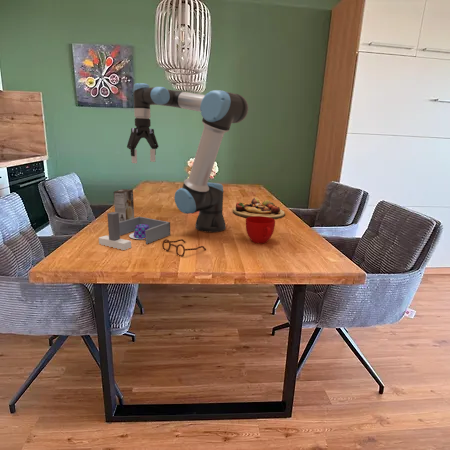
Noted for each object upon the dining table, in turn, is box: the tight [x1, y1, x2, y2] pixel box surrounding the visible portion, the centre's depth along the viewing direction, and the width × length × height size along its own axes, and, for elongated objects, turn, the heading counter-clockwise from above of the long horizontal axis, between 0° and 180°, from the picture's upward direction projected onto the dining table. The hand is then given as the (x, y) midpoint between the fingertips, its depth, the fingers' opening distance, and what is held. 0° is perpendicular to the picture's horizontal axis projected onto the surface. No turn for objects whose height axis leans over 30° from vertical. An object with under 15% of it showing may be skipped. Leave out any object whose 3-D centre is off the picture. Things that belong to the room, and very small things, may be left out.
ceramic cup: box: [245, 216, 276, 244], centre depth 141 cm, size 13×17×10 cm
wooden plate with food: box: [232, 197, 286, 220], centre depth 196 cm, size 32×32×8 cm
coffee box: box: [113, 188, 135, 222], centre depth 168 cm, size 9×6×16 cm
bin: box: [119, 216, 171, 245], centre depth 145 cm, size 19×16×6 cm
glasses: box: [161, 238, 206, 257], centre depth 130 cm, size 13×13×5 cm
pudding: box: [128, 224, 150, 240], centre depth 145 cm, size 12×12×5 cm
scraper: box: [98, 211, 132, 251], centre depth 129 cm, size 14×4×14 cm, turn 62°
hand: (144, 162), depth 162 cm, fingers open, 13 cm apart
